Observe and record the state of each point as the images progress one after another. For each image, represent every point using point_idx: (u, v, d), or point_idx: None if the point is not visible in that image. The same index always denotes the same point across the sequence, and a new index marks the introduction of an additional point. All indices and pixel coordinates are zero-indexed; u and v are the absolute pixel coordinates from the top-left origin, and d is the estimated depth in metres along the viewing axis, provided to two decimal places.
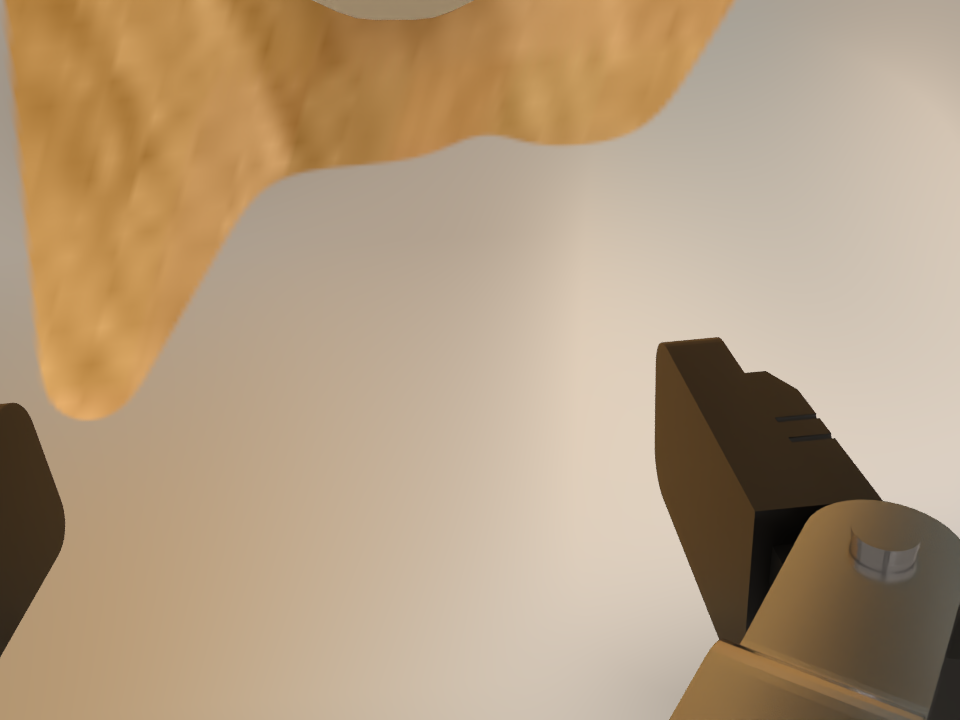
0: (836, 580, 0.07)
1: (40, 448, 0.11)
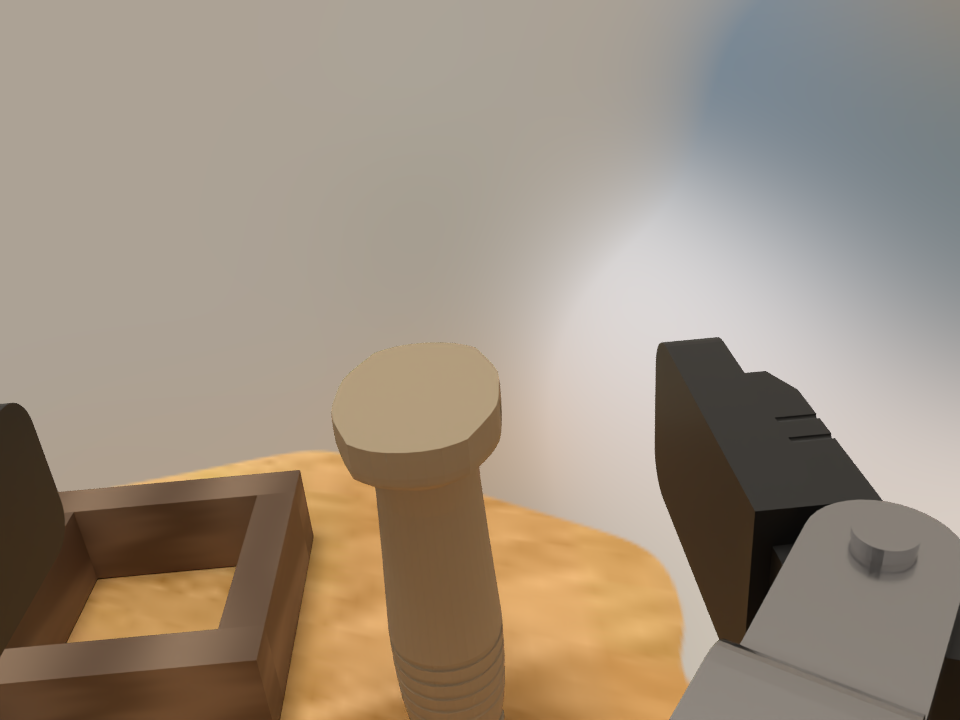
0: (836, 580, 0.07)
1: (40, 448, 0.11)
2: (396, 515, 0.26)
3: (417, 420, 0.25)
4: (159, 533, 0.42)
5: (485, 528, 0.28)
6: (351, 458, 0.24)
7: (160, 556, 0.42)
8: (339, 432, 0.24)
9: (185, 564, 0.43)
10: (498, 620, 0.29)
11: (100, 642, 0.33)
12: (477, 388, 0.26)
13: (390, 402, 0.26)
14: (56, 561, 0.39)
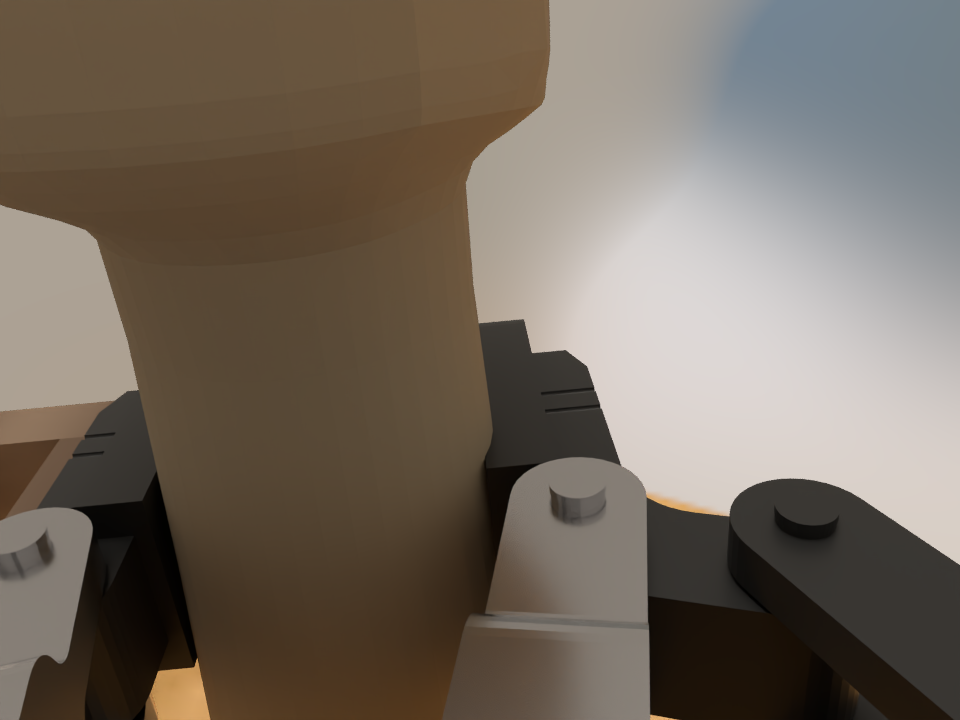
0: (548, 535, 0.07)
1: None
2: (169, 382, 0.07)
3: None
4: None
5: None
6: None
7: None
8: None
9: None
10: None
11: None
12: None
13: None
14: None
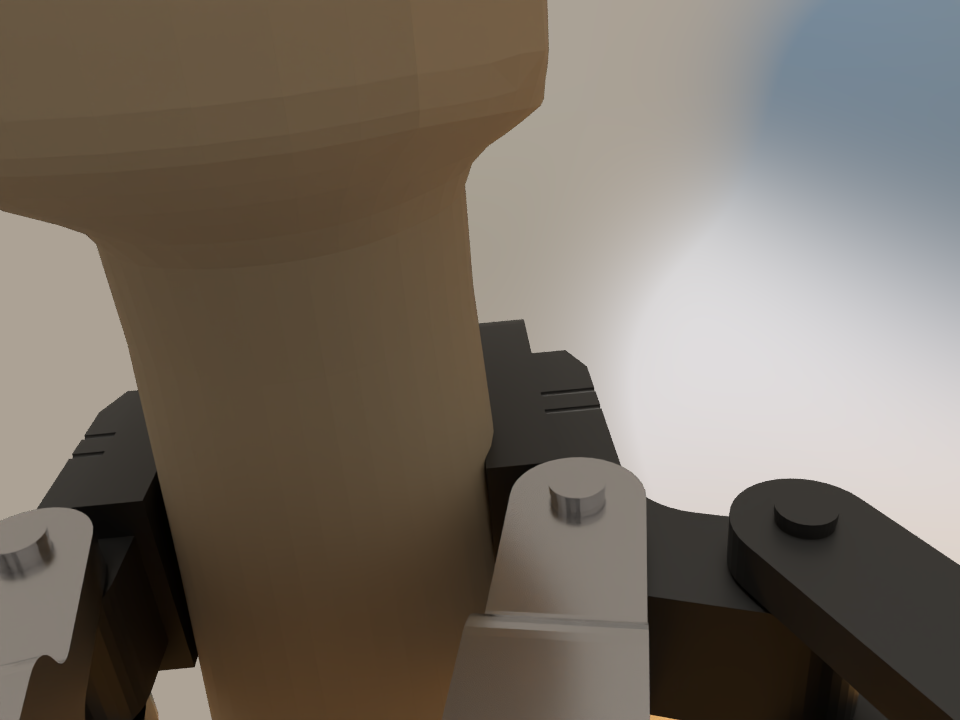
0: (548, 535, 0.07)
1: None
2: (169, 385, 0.07)
3: None
4: None
5: None
6: None
7: None
8: None
9: None
10: None
11: None
12: None
13: None
14: None
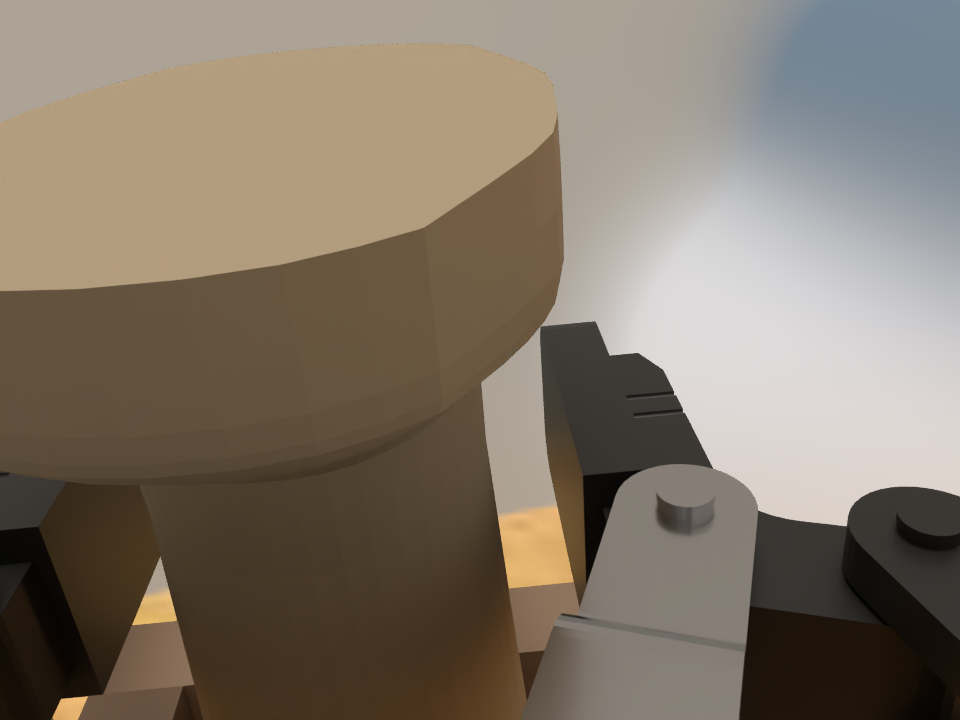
0: (650, 541, 0.07)
1: None
2: (191, 569, 0.08)
3: (216, 182, 0.06)
4: None
5: (502, 594, 0.09)
6: None
7: None
8: None
9: None
10: None
11: None
12: (476, 104, 0.07)
13: (140, 146, 0.07)
14: None
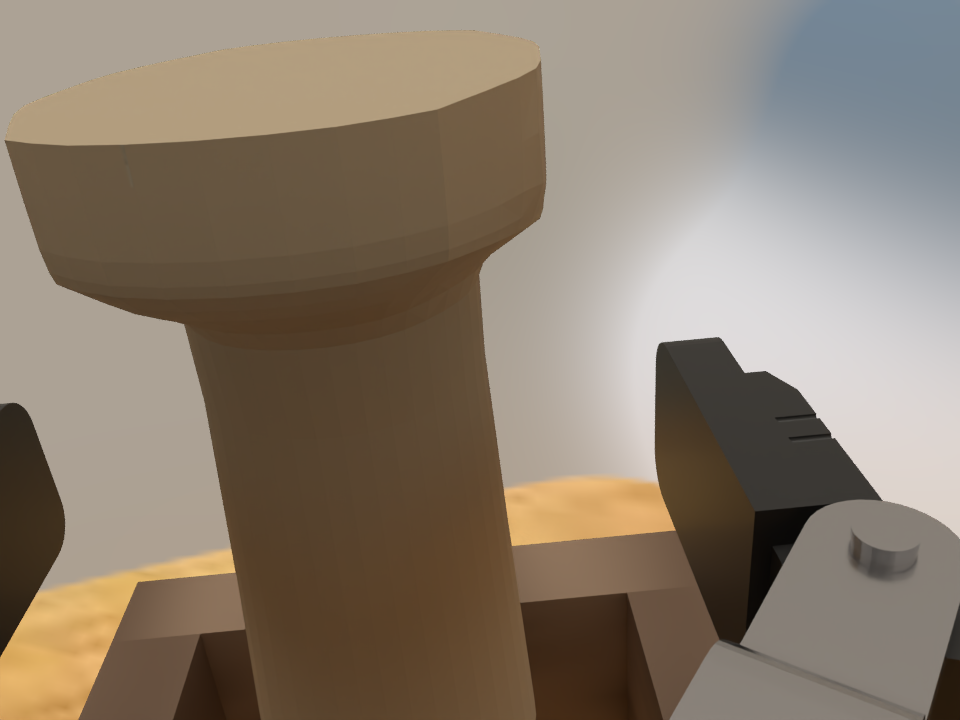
0: (836, 580, 0.07)
1: (40, 448, 0.11)
2: (242, 437, 0.09)
3: (277, 98, 0.07)
4: None
5: (498, 486, 0.11)
6: (28, 196, 0.07)
7: None
8: (10, 128, 0.07)
9: None
10: None
11: None
12: (476, 57, 0.09)
13: (214, 85, 0.08)
14: None
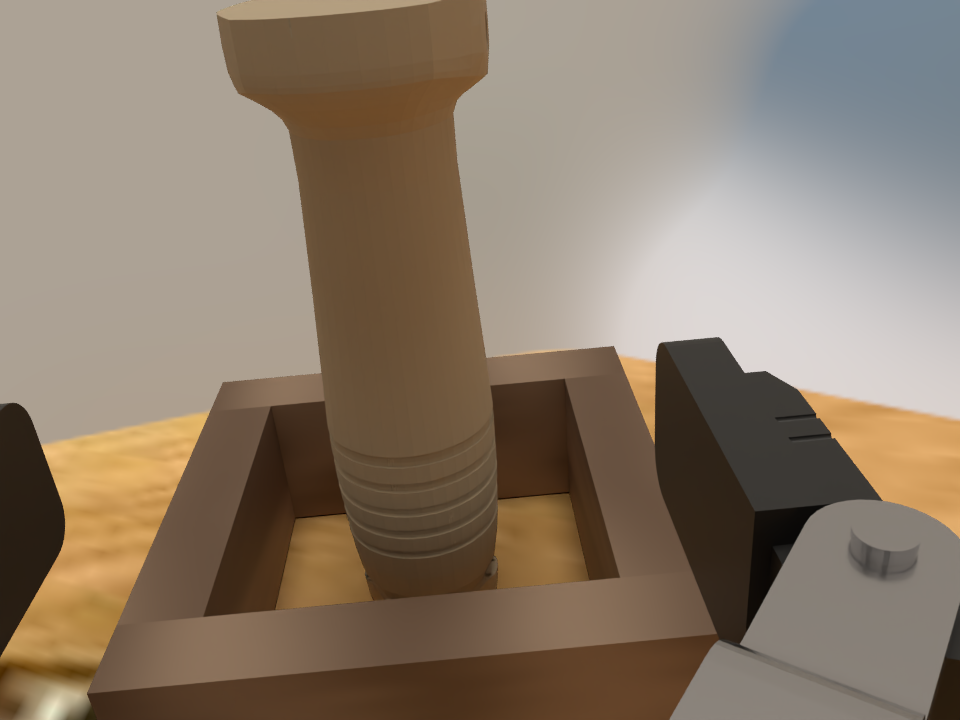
0: (836, 580, 0.07)
1: (40, 448, 0.11)
2: (324, 196, 0.17)
3: (350, 4, 0.15)
4: None
5: (465, 243, 0.18)
6: (238, 46, 0.14)
7: None
8: (222, 18, 0.15)
9: None
10: (487, 401, 0.20)
11: (400, 603, 0.18)
12: None
13: (311, 2, 0.16)
14: (259, 478, 0.23)
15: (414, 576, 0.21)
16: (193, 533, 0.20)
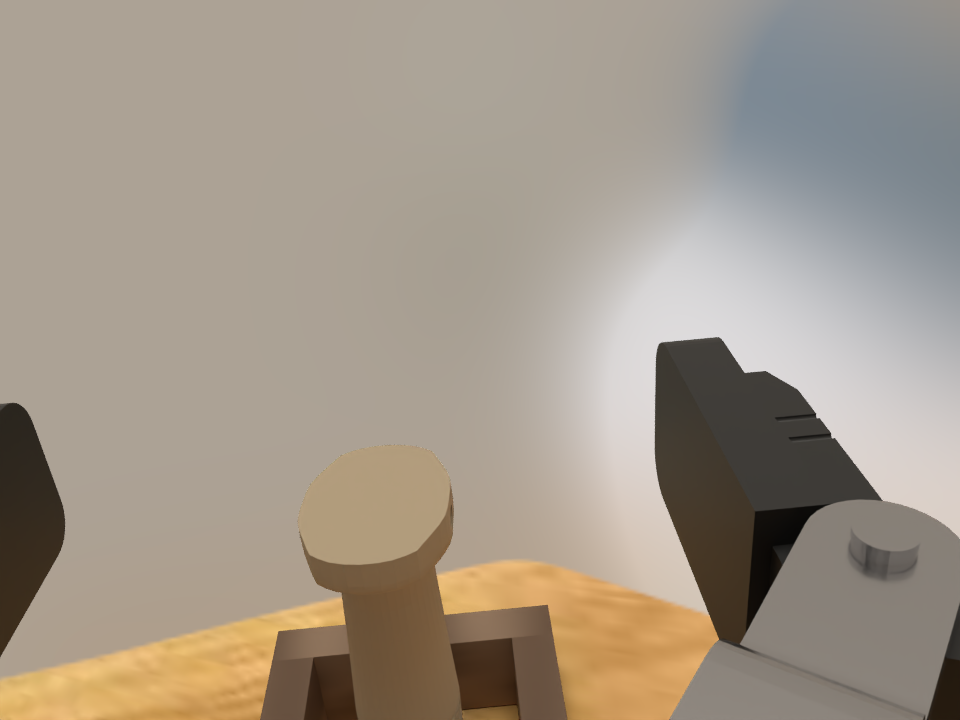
0: (836, 580, 0.07)
1: (40, 448, 0.11)
2: (357, 609, 0.29)
3: (374, 529, 0.27)
4: None
5: (440, 616, 0.31)
6: (314, 566, 0.27)
7: None
8: (303, 541, 0.27)
9: None
10: (455, 697, 0.32)
11: None
12: (430, 496, 0.29)
13: (351, 509, 0.28)
14: (308, 719, 0.36)
15: None
16: None
